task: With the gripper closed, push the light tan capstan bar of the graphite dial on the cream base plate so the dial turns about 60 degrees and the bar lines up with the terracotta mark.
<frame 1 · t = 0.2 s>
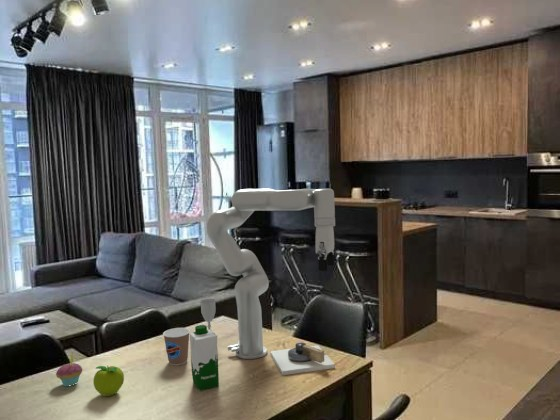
hand: (326, 267, 176), 36 cm above the table, tool pointing down, fingers open, 9 cm apart
cupcake: (70, 384, 169), on the table
chalice: (210, 341, 207), on the table
fruit: (110, 394, 160), on the table
coffee cup: (178, 362, 185), on the table
cam dial: (306, 352, 179), point 4 cm above the table, hinge at 0.0°
milk carton: (206, 385, 164), on the table
base plate: (301, 361, 181), on the table
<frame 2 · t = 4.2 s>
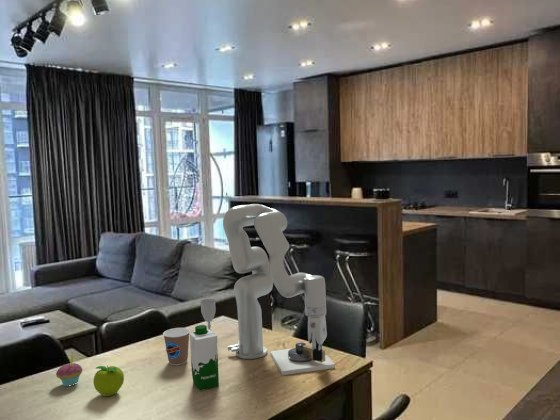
hand: (317, 359, 171), 4 cm above the table, tool pointing down, fingers closed
cam dial: (306, 352, 179), point 4 cm above the table, hinge at 3.0°, touching gripper
everything else where it was.
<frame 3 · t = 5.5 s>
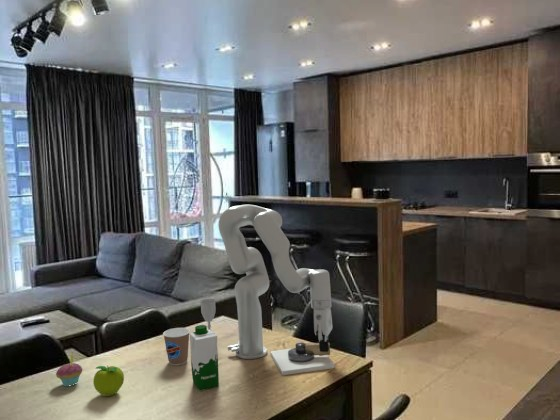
hand: (324, 350, 178), 5 cm above the table, tool pointing down, fingers closed
cam dial: (308, 350, 181), point 4 cm above the table, hinge at 44.7°, touching gripper
everything else where it was.
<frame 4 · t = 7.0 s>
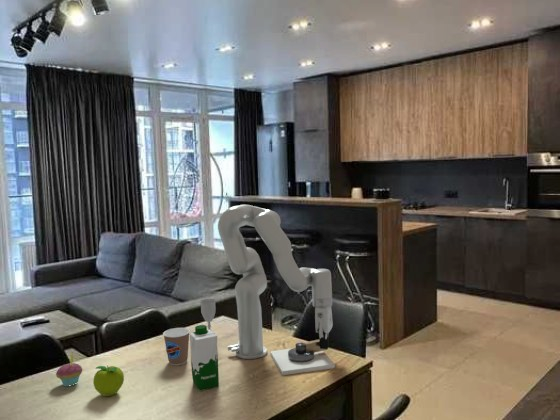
hand: (324, 348, 182), 4 cm above the table, tool pointing down, fingers closed
cam dial: (307, 349, 182), point 4 cm above the table, hinge at 72.9°, touching gripper
everything else where it was.
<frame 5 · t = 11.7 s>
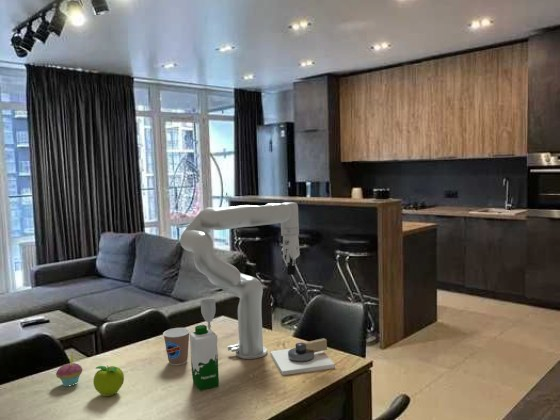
hand: (291, 274, 201), 29 cm above the table, tool pointing down, fingers closed
cam dial: (307, 349, 182), point 4 cm above the table, hinge at 73.2°
everything else where it was.
at the end: cam dial at +73° (first picture: +0°) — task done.
